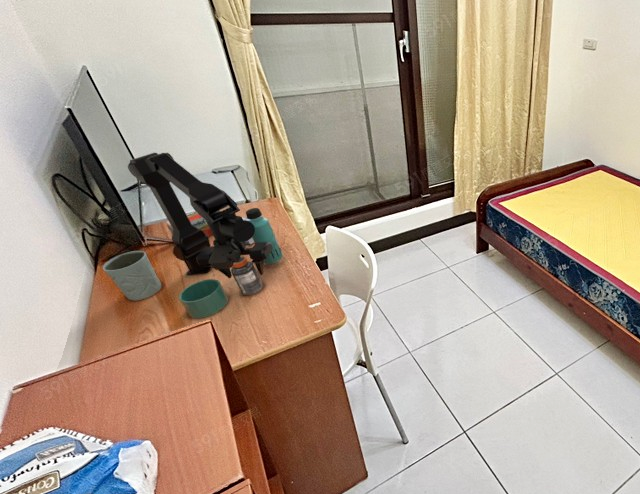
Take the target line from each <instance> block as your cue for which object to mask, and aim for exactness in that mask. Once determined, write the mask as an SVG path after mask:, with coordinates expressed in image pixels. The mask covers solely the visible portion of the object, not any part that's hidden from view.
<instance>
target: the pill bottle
mask: <svg viewBox="0 0 640 494" xmlns="http://www.w3.org/2000/svg"><path fill="white" fill-rule="evenodd" d="M230 271H231V275H232V276H233V278H234V279H233V280H234V281H235V282H236V285H237V286H238V288H239V291H240V292H241V294H242V295H243V296H252V295H254V294H257V293H258V292H260V291H261V290H262V289H263V287H264V284H263V281H262V280H261V277H260V276H259V275H260V274H259V272H258V270H257V268H256V266H255V264H254V263H252V261H250V260H248V258H247V257H246V256H245V255H241V256H240V259H239V262H235V263H234V264H233V266H232V267H231V268H230Z"/></svg>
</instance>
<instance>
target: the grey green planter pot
mask: <svg viewBox="0 0 640 494" xmlns="http://www.w3.org/2000/svg"><path fill="white" fill-rule="evenodd" d="M102 270H103V272H104V273H106V275H107V276H108V277H109V278H110V279H111V280H112V281H113V283H114V284H115V286H117V287H118V289H119V290H120V291H121V292H122V293H123V295H124V296H125V298H127V299H128V300H129V301H132V302H133V301H134V302H137V301H141V300H146V299H148V298H150V297H152V296H154V295H156V294H157V293H158V292H160V290H161V289H162V283H161V280H160V279H159V277H158V276H157V273H156V271H155V270H154V267H153V266H152V263H151V262H150V259H149V257H148V255H147V253H146V252H145V251H144V250H133V251H132V250H131V251H127V252H124V253H121V254H119V255H115V256H114V257H112V258H110V259H108V261H106V262H105V263H104V264H103V265H102Z"/></svg>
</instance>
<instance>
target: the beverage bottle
mask: <svg viewBox="0 0 640 494" xmlns="http://www.w3.org/2000/svg"><path fill="white" fill-rule="evenodd" d="M245 215H246V218H248V219H251V220H250V221H249V222H251V223H252V224H253V225H254V227H255V233H254V235H253V237H252V238H253V240H254V243H253V244H255V243H258V242H270V243H271V244H272V247H273V250H272V251H271V253H270V254H269V255H268V257H267V258H266V259H265V262H264V264H266V265H270V264H271V265H272V264H275V263H277V262H279V261H281V260H282V259H283V252H282V249H281V246H280V244H279V241H278V239H277V237H276V234H275V232H274V230H273V228H272V226H271V223H270V221H269V219H268V218H267V217H265V216H262V215H263V213H262V211H261V210H260V208H258V207H253V208H249V209H247V210H246V211H245Z"/></svg>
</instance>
